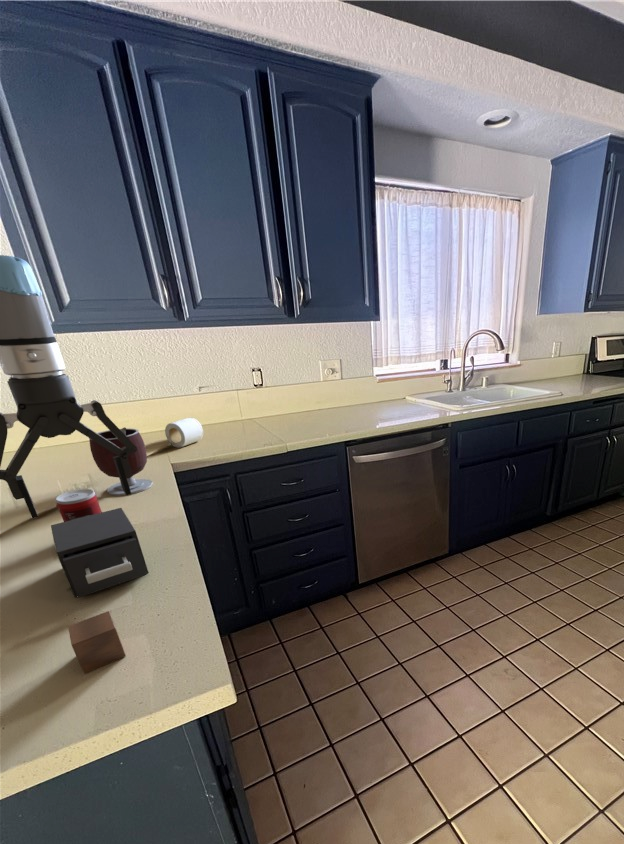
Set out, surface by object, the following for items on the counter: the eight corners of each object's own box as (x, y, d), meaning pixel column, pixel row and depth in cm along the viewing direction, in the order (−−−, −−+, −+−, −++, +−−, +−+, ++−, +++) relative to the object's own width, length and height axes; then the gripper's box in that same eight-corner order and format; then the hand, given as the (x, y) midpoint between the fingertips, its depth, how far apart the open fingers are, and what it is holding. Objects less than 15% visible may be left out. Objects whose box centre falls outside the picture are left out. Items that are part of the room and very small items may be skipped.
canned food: (95, 527, 107) (81, 486, 103) (116, 533, 104) (102, 491, 99) (64, 541, 101) (47, 498, 97) (84, 547, 98) (68, 503, 93)
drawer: (152, 584, 82) (141, 549, 78) (81, 610, 75) (65, 572, 72) (132, 549, 95) (122, 517, 91) (70, 567, 88) (57, 534, 85)
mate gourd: (97, 490, 131) (75, 426, 123) (142, 477, 141) (125, 416, 133) (119, 501, 123) (97, 433, 114) (166, 486, 133) (149, 422, 124)
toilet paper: (186, 440, 183) (181, 416, 179) (205, 441, 180) (200, 418, 175) (168, 446, 175) (162, 422, 170) (187, 448, 171) (181, 423, 167)
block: (84, 674, 63) (71, 645, 60) (79, 653, 66) (67, 625, 64) (126, 656, 66) (115, 628, 63) (119, 637, 70) (109, 610, 67)
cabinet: (148, 572, 87) (135, 530, 83) (74, 597, 80) (56, 552, 76) (133, 546, 98) (121, 507, 94) (67, 566, 91) (50, 525, 87)
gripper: (-81, 387, 54) (-11, 534, 63) (134, 368, 69) (166, 490, 78) (-75, 382, 60) (-11, 518, 69) (123, 365, 74) (155, 479, 83)
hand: (83, 503), depth 73 cm, fingers open, 13 cm apart
